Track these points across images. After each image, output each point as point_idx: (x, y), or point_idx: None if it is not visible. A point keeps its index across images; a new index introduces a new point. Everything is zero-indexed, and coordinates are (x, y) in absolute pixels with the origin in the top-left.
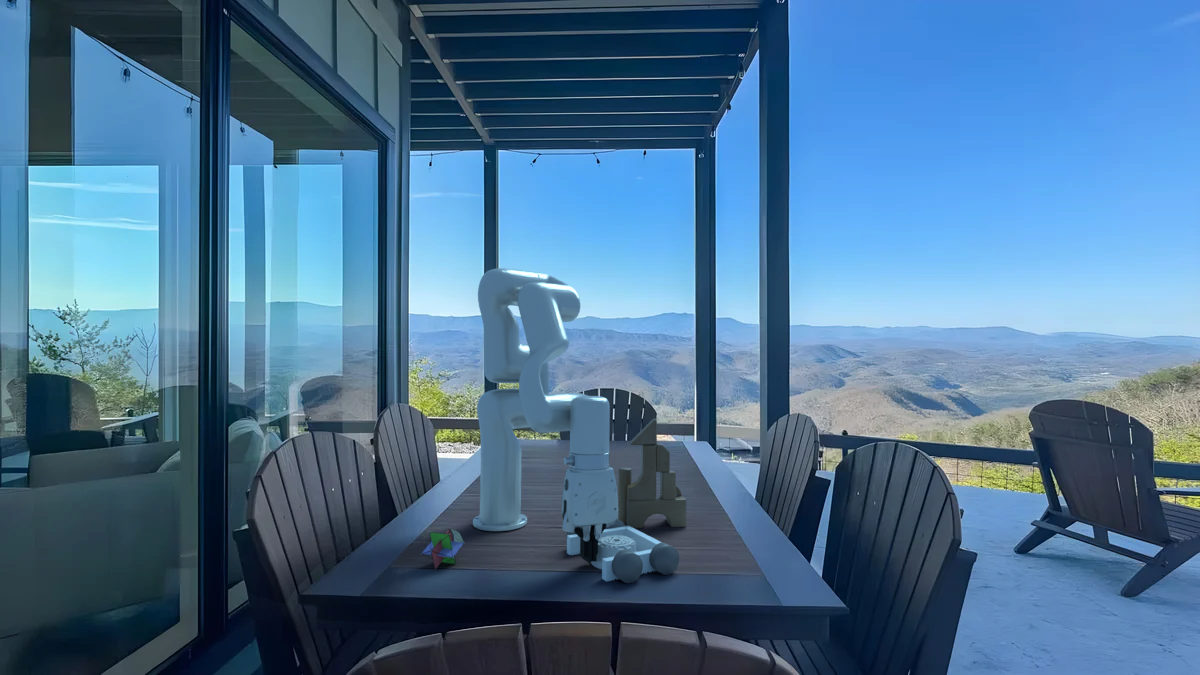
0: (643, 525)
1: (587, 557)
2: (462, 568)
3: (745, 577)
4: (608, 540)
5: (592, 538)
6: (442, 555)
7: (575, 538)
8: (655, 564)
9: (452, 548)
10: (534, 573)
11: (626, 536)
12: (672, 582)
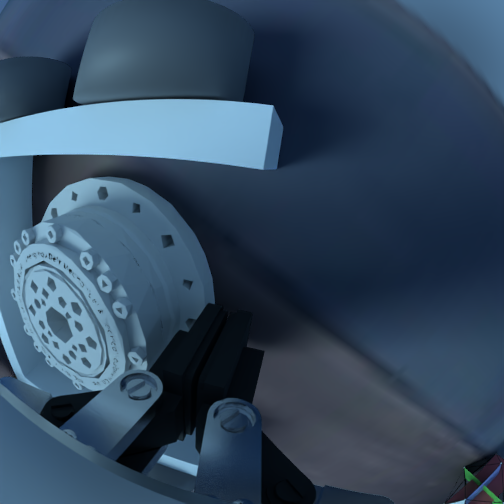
0: (13, 377)
1: (245, 338)
2: (476, 451)
3: (2, 27)
4: (89, 353)
5: (179, 399)
6: (497, 472)
7: (196, 459)
8: (58, 72)
9: (481, 487)
10: (433, 379)
11: (25, 327)
12: (91, 22)
